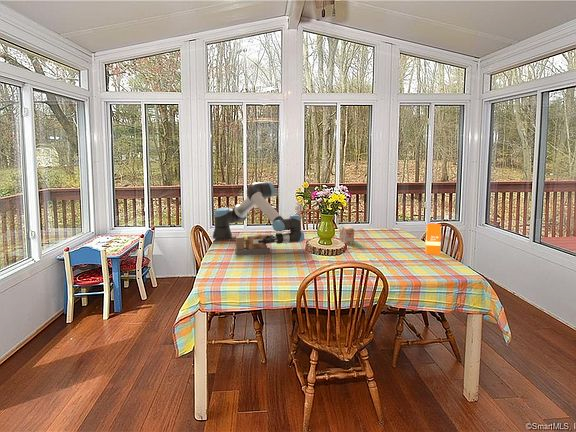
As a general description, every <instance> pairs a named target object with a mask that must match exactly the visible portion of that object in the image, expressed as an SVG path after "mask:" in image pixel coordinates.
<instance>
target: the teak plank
mask: <svg viewBox="0 0 576 432" xmlns="http://www.w3.org/2000/svg"><path fill="white" fill-rule="evenodd" d="M265 235H266V234H258V235H257V234H255V235H247V238H245V247H246V249H247V248H248V249H258V248H266V245H267V244H265V243H259V244H253V240H256V239H263V238H264V239H266V236H265Z"/></svg>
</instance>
